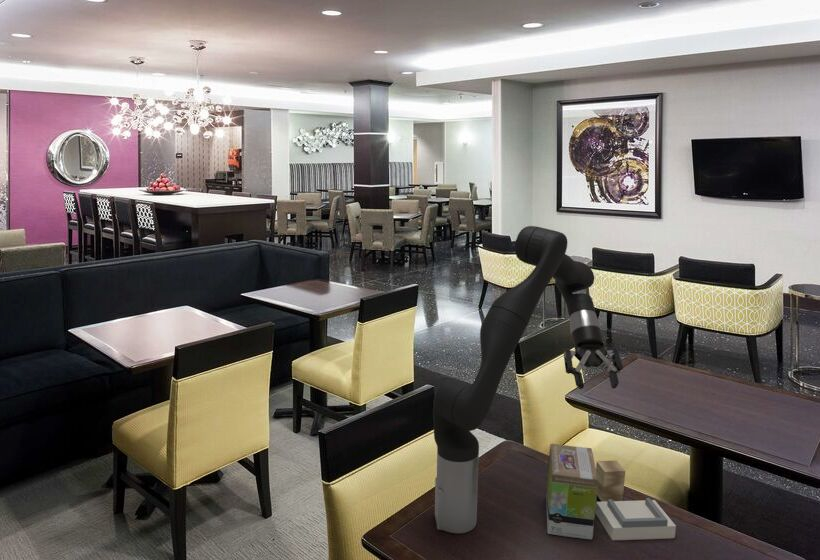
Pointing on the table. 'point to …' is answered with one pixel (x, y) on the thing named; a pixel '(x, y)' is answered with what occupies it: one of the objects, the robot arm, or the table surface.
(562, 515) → the tea box
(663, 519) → the dock
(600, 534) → the table surface
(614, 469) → the tall cardboard box
